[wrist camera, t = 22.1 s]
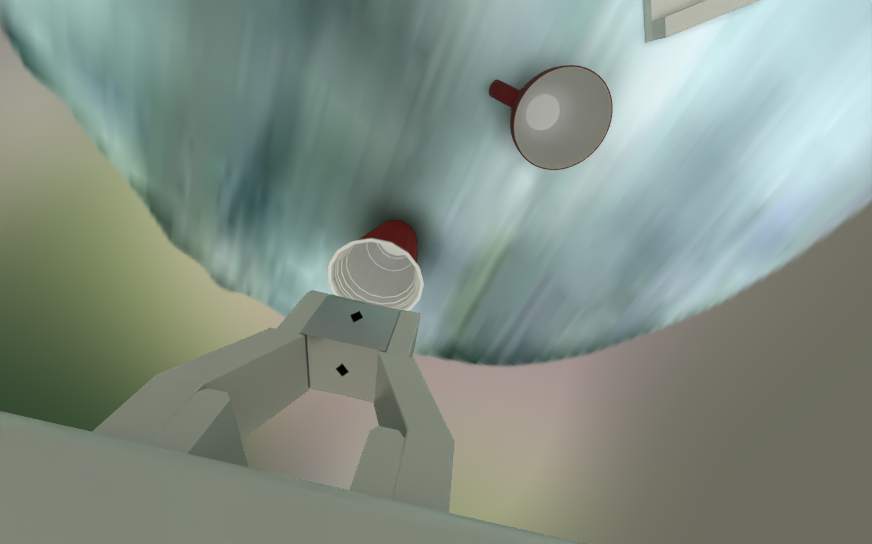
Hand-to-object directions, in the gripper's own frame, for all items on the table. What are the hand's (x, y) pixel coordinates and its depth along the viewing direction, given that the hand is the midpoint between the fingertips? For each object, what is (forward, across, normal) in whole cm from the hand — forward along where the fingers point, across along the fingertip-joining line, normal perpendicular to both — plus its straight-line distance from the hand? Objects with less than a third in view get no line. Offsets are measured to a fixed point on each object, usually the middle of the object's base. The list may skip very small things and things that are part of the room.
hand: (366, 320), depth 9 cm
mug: (+34, -8, -4) cm, 35 cm away
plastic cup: (+34, +6, +15) cm, 38 cm away
